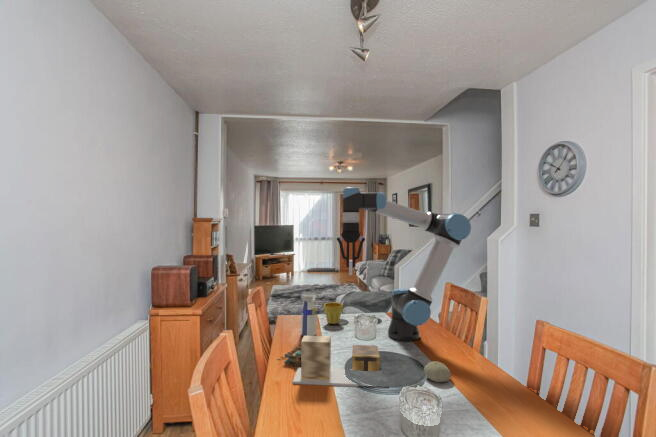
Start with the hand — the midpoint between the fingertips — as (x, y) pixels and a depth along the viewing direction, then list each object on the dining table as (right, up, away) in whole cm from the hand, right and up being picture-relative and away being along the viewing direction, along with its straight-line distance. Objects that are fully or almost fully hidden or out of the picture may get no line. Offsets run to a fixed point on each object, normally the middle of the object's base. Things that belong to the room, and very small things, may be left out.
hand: (350, 274), depth 149 cm
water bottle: (-20, -33, +18) cm, 42 cm away
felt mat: (-5, -32, -29) cm, 44 cm away
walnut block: (+4, -28, -27) cm, 39 cm away
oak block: (-14, -31, -29) cm, 45 cm away
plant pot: (-7, -33, +37) cm, 50 cm away
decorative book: (-22, -33, -15) cm, 42 cm away
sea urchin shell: (+30, -33, -26) cm, 52 cm away
